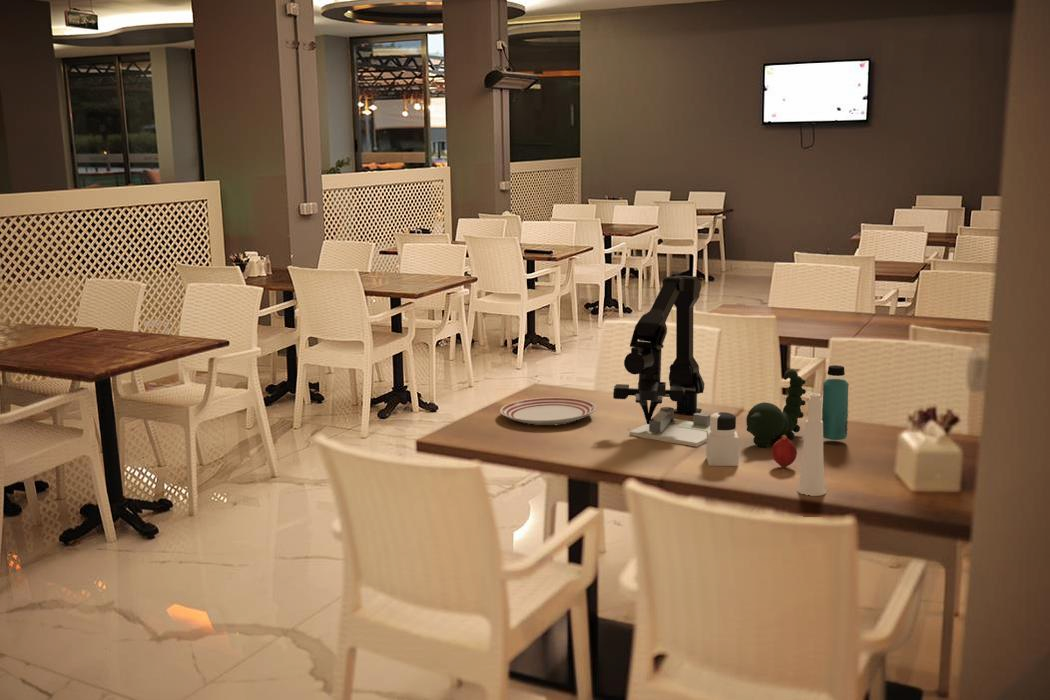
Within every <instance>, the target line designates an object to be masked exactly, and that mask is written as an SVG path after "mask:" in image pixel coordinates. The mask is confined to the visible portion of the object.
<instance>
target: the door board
mask: <svg viewBox="0 0 1050 700" xmlns="http://www.w3.org/2000/svg"><path fill="white" fill-rule="evenodd" d="M710 416H711V414H707V413H700V412H698V413H695V414H693V415H692V417H693V418H692V419H693V421H690V420H684V419H678V418H674V421H671V422H670V423H669V424H668V425H667V427H666V428H665V429H664V430H663V431H662V432H661V433H658V432H649V424H647V423H645V424H643V425H641V426H639V427H636V428H634V429H632V430H630V431H629V436H632V435H633V436H634V437H638V436H639V437H640V438H645V439H649V438H650V439H651V440H656V441H662V442H666V443H673V444H677V445H678V444H679V445H685V446H689V447H690V446H691V447H696V448H697V447H700V446H702V445H704V444H707V430H710ZM639 437H638V438H639ZM650 439H649V440H650Z"/></svg>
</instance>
